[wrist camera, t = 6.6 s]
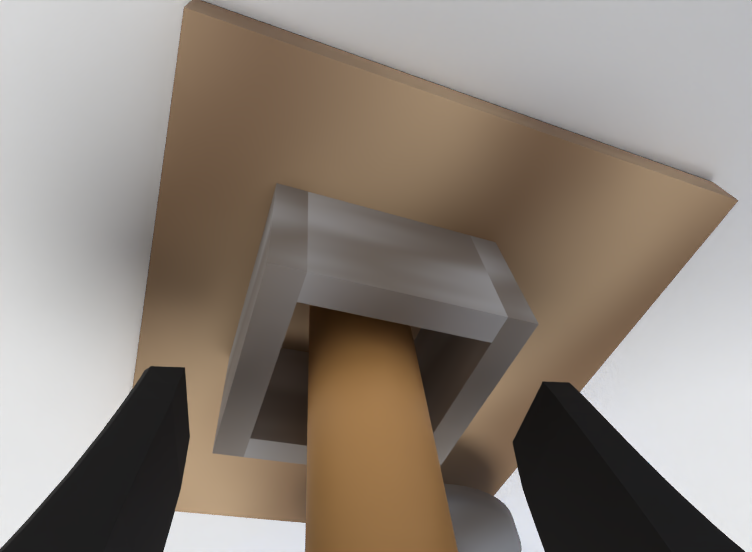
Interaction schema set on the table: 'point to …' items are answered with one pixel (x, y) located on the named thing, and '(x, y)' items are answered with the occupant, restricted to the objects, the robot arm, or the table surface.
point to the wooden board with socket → (386, 258)
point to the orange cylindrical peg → (370, 441)
